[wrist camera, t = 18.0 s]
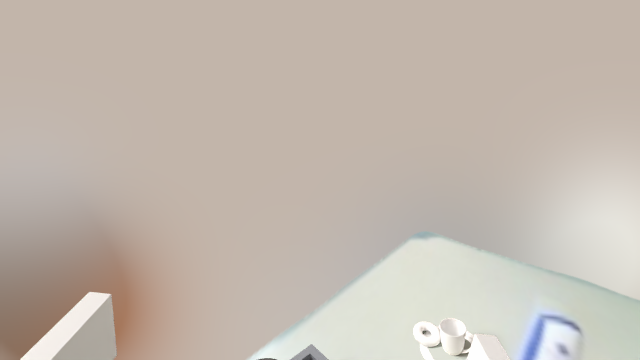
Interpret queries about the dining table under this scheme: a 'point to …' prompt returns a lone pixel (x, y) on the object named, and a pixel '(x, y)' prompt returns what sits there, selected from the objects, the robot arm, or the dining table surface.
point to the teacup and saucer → (442, 336)
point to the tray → (310, 354)
